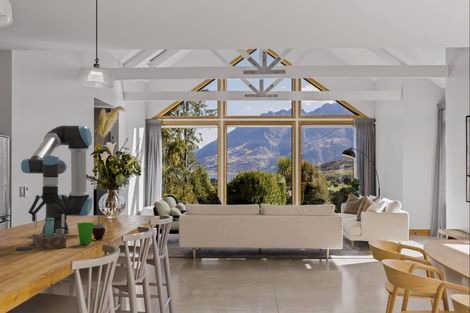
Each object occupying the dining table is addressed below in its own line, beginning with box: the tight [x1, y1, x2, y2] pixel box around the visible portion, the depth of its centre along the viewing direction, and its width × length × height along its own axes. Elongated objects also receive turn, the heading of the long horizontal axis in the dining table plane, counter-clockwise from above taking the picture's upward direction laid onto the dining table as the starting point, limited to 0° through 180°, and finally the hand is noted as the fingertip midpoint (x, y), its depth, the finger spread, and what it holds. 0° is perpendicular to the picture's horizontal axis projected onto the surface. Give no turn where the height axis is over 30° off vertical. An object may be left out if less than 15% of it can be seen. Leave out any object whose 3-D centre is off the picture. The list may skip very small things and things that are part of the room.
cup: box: [76, 221, 96, 245], centre depth 283 cm, size 9×9×11 cm
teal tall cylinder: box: [44, 217, 54, 237], centre depth 275 cm, size 5×5×14 cm
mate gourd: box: [92, 213, 106, 240], centre depth 302 cm, size 8×8×15 cm
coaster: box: [15, 246, 33, 252], centre depth 261 cm, size 7×7×1 cm
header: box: [31, 229, 67, 250], centre depth 275 cm, size 12×20×9 cm, turn 32°
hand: (49, 227), depth 275 cm, fingers open, 13 cm apart
